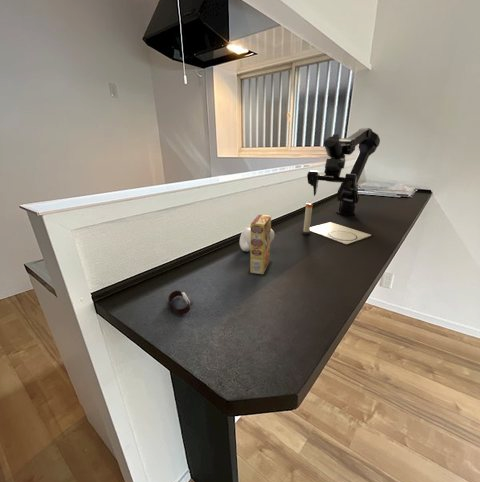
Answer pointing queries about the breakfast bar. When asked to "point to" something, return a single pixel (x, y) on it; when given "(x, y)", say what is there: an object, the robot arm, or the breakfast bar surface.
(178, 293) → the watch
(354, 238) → the sketch pad
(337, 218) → the breakfast bar surface
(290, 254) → the breakfast bar surface
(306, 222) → the marker
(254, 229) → the candy box
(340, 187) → the robot arm
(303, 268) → the breakfast bar surface
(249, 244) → the white rounded lump
